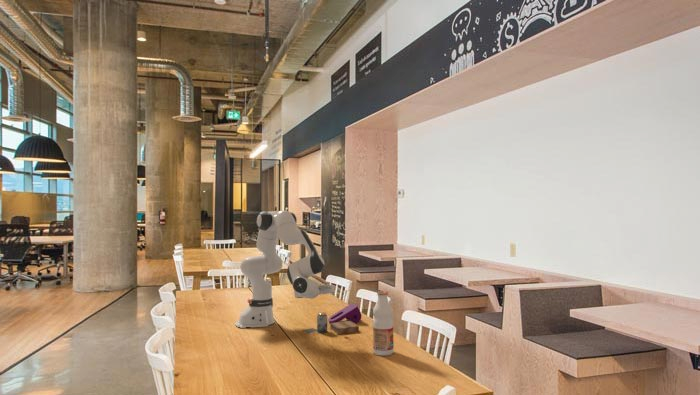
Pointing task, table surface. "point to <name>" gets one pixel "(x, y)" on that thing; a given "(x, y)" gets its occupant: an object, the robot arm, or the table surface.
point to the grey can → (322, 322)
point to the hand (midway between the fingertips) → (319, 292)
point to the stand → (344, 327)
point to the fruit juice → (383, 326)
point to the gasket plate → (310, 330)
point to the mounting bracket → (346, 314)
